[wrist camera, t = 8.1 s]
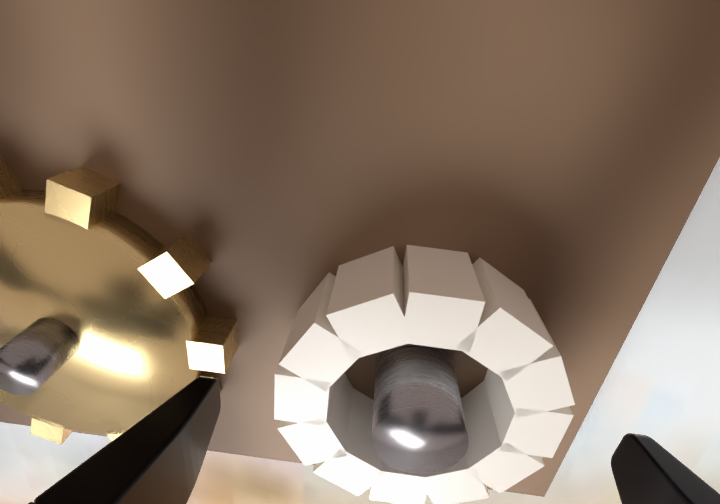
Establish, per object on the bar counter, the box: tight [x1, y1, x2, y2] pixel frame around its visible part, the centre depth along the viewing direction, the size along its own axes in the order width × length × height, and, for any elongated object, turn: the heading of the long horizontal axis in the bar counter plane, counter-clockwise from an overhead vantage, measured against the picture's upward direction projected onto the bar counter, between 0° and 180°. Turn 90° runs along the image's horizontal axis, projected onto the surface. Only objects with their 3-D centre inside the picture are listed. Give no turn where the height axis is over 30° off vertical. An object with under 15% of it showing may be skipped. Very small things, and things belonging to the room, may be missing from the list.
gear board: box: [0, 0, 720, 497], centre depth 10 cm, size 20×18×2 cm
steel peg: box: [371, 344, 469, 474], centre depth 9 cm, size 2×2×3 cm
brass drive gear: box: [0, 157, 239, 444], centre depth 10 cm, size 8×8×2 cm
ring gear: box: [274, 245, 575, 504], centre depth 10 cm, size 6×6×2 cm
